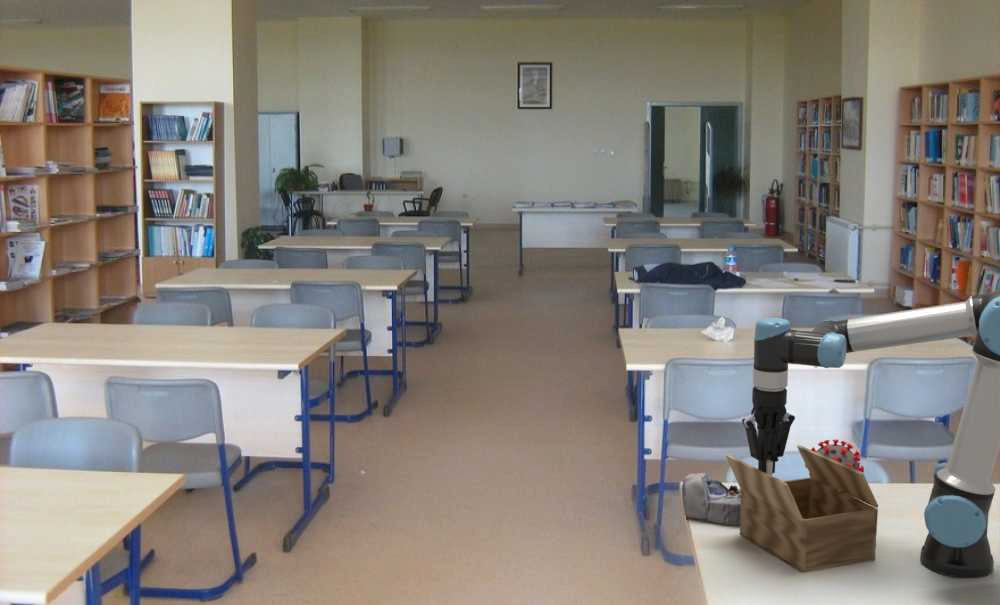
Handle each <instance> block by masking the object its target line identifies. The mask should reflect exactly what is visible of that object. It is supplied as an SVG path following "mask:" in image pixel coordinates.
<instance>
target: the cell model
mask: <svg viewBox="0 0 1000 605" xmlns="http://www.w3.org/2000/svg"><path fill="white" fill-rule="evenodd" d="M681 498H682V506H683V507H682V509H683V512H684V513H683V514H684V516H685V517H686V518H691V519H698V520H703V521H705V522H706V521H708V522H711V523H715V524H718V523H719V524H720V525H726V526H740V514H741V489H740V488H738V486H737V485H730V486H729V488H728V487H727V486H725V484H723V483H722V481H720V480H717V479H709V477H708V475H707V473H706V472H695V473H690V474H688V475H687V476H686V477H685V478H684V480H683V482H682V484H681ZM719 524H718V525H719Z"/></svg>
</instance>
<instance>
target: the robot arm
mask: <svg viewBox="0 0 1000 605" xmlns="http://www.w3.org/2000/svg"><path fill="white" fill-rule="evenodd" d="M966 337H973V338H974V342H973V343H974V344H973V346H972V350H971V351H972V354H973V355H974V357H975V358H976V364H975V368H974V370H973V375H972V379H971V382H970V386H969V388H968V392H967V395H966V400H965V403H964V406H963V410H962V414H961V415H960V416H961V417H960V421H959V424H958V427H957V431H956V434H955V437H954V441H953V444H952V448H951V452H950V455H949V458H948V462H940V463H938V464H936V465H935V467H934V473H933V474H932V476H933V485H932V488H931V492H930V496H929V499H928V503H927V505H926V507H925V509H924V513H923V514H924V515H923V517H924V523H925V527H926V529H927V531H928V533H927V536H926V538H925V541H924V543H923V544H924V545H922V546H921V549H920V557H919V558H920V559H919V560H920V563H921V564H922V565H923V566H924V567H926V568H927V569H929V570H931V571H934V572H936V573H938V574H939V573H940V574H943V575H946V576H951V577H955V578H956V577H957V578H965V579H967V578H968V579H969V578H970V579H971V578H982V577H986V576H989V575H990V574H993V571H994V563H995V562H994V556H993V555H992V551H991V546H990V542H989V538H988V526H989V516H990V514H989V513H990V510H991V506H992V503H993V499H994V495H995V493H996V488H995V486H994V484H993V481H992V475H993V472H994V468H995V465H996V461H997V458H998V455H999V451H1000V289H998V290H995V291H991V292H986V293H981V294H976V295H970V296H969V298H968V299H967V300H966V301H961V302H955V303H954V302H953V303H947V304H940V305H933V306H927V307H921V308H916V309H915V308H914V309H913V308H912V309H906V310H899V311H894V312H888V313H887V312H886V313H881V314H880V313H879V314H875V315H869V316H862V317H855V318H849V319H842V320H841V319H840V320H835V319H828V320H825V321H821V323H818V324H817V325H816V326H815V327H814V329H812V330H811V331H810V330H797V329H792V327H791V323H790V321H789V320H788V319H785V318H780V317H763V318H760V319H758V320H757V321H756V323H755V330H754V338H753V374H752V377H753V378H752V380H753V381H752V385H753V387H752V394H751V396H752V398H751V402H752V410H751V414H750V415H749V417H747V418H742V420H741V423H742V425H743V427H744V428H745V431H746V437H747V438H746V439H747V443H748V448H749V454H750V457H751V458H753V459H755V460H757V461H758V463H757V464H758V465H757V466H758V468H757V469H759V470H761V471H763V472H765V473H767V474H769V475H771V476H773V474H775V472H776V462H778V461H779V457H780V458H782V457H783V456H784V453H785V450H786V446H787V442H788V438H789V434H790V430H791V426H792V424H793V423H794V421H795V419H796V416H795V415H793V414H791V413H789V412H787V408H786V405H787V403H788V400H787V399H788V397H787V396H788V389H786V388H787V387H788V385H789V384H788V382H789V381H788V380H789V379H788V378H789V364H792V365H802V366H808V367H809V366H811V367H818V368H820V367H821V368H825V369H830V368H831V369H832V368H833V369H834V368H835V369H840V368H842V367H843V366H844V364H845V361H846V356H847V354H849V353H854V352H861V351H868V350H870V351H871V350H878V349H885V348H892V347H901V346H906V345H907V346H909V345H914V344H923V343H928V342H937V341H944V340H952V339H959V338H966Z"/></svg>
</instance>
